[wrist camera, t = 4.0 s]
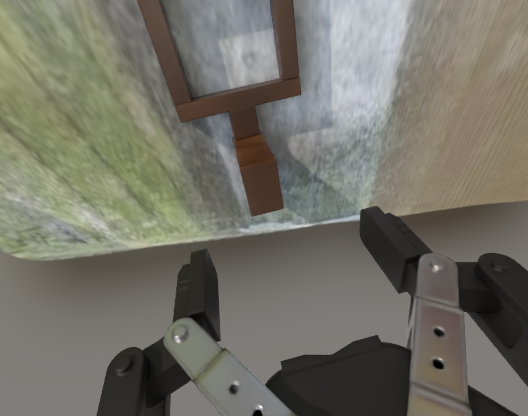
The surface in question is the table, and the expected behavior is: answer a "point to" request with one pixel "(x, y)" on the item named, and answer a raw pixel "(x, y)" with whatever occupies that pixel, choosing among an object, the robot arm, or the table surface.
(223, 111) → the brown wooden frame
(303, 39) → the table surface
